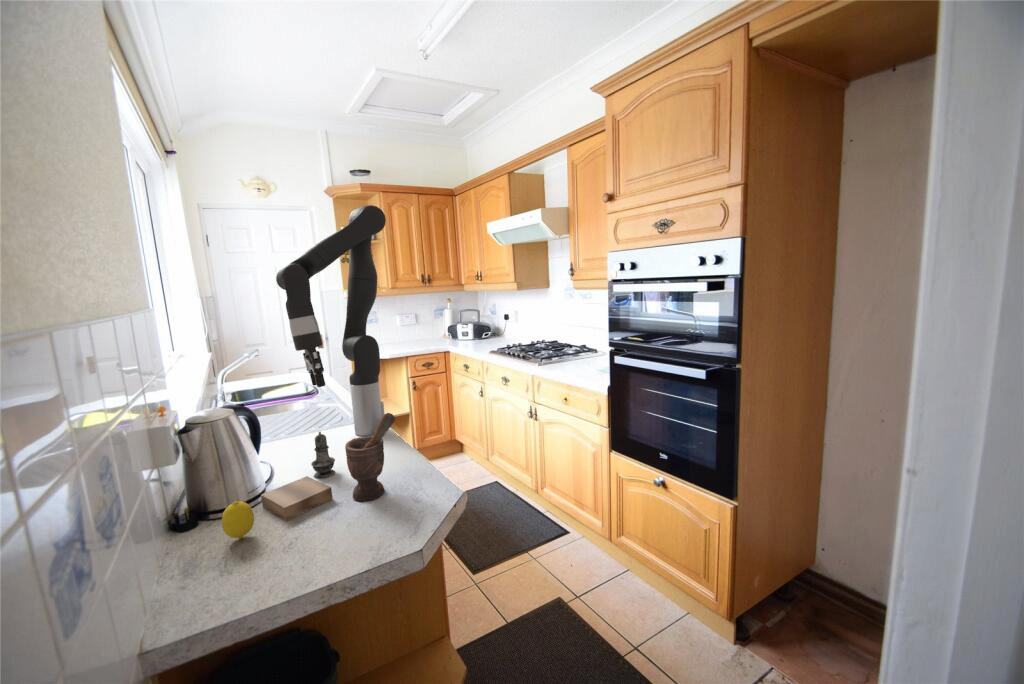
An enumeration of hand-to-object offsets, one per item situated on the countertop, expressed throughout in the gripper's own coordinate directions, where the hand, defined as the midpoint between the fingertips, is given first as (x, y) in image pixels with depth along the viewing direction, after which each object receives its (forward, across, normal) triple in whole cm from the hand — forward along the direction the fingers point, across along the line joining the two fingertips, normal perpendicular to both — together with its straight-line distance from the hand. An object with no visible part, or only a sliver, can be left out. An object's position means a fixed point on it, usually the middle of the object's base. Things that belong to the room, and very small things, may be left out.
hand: (319, 385), depth 132 cm
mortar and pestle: (+25, -35, -2) cm, 43 cm away
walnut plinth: (+22, -28, +14) cm, 39 cm away
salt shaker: (+22, -15, +6) cm, 28 cm away
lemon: (+22, -36, +26) cm, 50 cm away
